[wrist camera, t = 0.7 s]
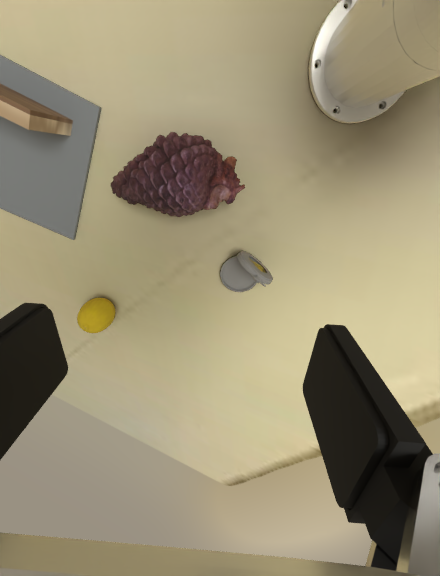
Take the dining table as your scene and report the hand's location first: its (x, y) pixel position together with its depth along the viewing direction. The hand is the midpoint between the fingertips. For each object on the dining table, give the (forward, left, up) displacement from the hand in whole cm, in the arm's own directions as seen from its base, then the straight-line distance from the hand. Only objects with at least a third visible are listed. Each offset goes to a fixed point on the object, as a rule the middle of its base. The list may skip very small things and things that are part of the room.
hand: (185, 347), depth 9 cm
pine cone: (-1, -7, -33) cm, 34 cm away
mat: (+6, -28, -33) cm, 44 cm away
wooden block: (0, -28, -33) cm, 43 cm away
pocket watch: (+8, +8, -33) cm, 35 cm away
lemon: (+26, -12, -33) cm, 44 cm away
